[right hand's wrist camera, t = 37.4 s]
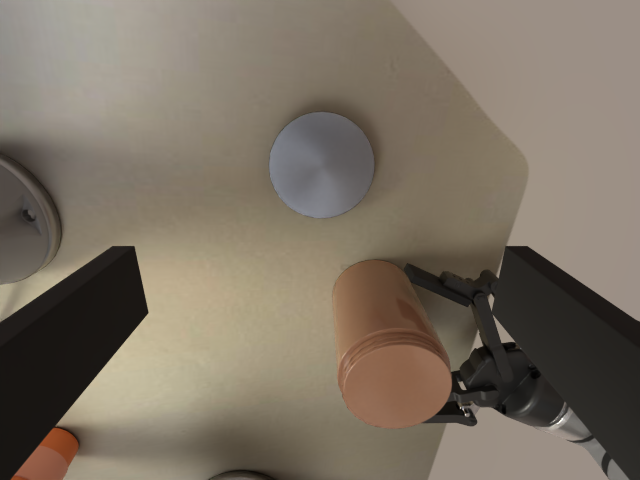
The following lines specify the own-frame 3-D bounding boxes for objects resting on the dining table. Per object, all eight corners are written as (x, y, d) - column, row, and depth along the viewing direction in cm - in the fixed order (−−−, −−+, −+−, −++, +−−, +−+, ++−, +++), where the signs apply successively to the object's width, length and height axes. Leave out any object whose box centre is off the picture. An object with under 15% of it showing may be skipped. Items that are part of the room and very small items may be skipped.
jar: (354, 247, 40) (372, 323, 26) (426, 278, 42) (481, 365, 28) (319, 313, 43) (319, 411, 29) (388, 339, 45) (418, 445, 31)
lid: (359, 221, 39) (360, 226, 37) (264, 203, 38) (262, 208, 36) (383, 123, 35) (386, 123, 33) (279, 101, 34) (277, 101, 33)
